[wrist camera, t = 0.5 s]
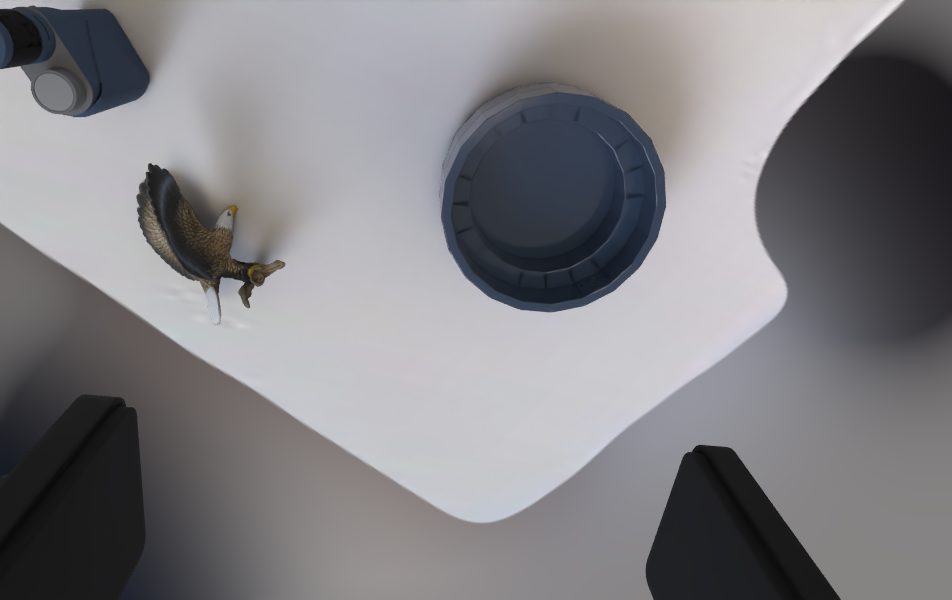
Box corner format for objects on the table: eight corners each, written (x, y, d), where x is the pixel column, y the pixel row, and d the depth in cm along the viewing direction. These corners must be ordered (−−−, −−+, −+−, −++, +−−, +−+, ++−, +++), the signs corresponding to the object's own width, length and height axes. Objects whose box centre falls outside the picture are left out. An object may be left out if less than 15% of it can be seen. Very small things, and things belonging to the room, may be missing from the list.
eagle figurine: (308, 214, 40) (170, 129, 36) (269, 308, 36) (109, 226, 32) (257, 257, 45) (132, 188, 41) (218, 343, 41) (75, 276, 37)
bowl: (452, 69, 38) (456, 78, 33) (660, 96, 40) (692, 109, 35) (430, 270, 44) (431, 302, 39) (613, 287, 45) (636, 320, 41)
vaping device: (106, -3, 35) (-36, -4, 24) (161, 89, 37) (54, 124, 27) (66, 17, 35) (-92, 23, 25) (123, 106, 38) (1, 148, 27)
